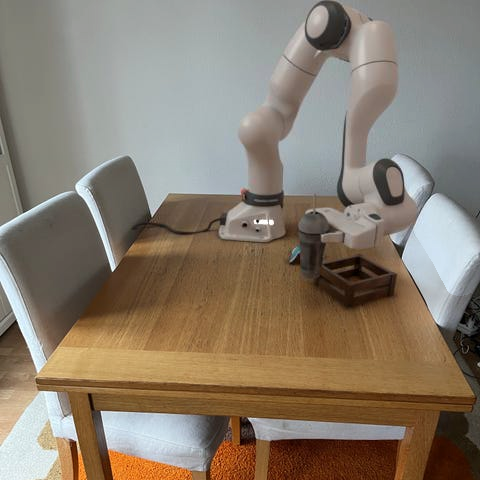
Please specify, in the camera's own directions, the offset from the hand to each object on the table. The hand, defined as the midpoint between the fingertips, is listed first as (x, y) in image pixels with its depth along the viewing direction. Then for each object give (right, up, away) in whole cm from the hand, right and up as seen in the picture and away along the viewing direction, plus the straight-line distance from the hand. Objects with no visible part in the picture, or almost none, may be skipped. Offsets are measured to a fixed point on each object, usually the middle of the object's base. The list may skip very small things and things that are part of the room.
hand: (310, 232), depth 109 cm
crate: (+13, -12, +15) cm, 23 cm away
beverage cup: (+1, -9, +6) cm, 11 cm away
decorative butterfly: (+3, -3, +32) cm, 32 cm away
